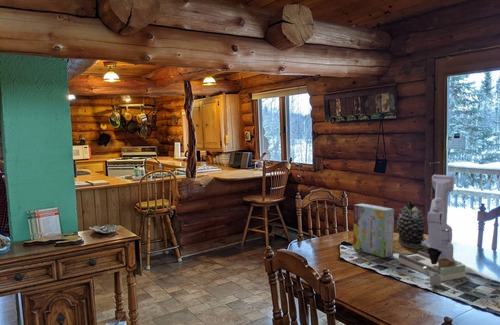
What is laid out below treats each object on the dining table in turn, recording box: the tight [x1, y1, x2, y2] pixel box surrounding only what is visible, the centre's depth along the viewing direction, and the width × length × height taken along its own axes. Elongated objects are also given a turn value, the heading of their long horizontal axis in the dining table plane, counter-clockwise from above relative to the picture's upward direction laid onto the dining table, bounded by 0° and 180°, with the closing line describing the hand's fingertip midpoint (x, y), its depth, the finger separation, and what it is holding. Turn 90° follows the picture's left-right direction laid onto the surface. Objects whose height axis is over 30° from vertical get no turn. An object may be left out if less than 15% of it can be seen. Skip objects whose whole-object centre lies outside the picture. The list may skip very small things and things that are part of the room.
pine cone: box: [396, 200, 427, 249], centre depth 232 cm, size 21×15×25 cm
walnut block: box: [438, 258, 457, 270], centre depth 184 cm, size 5×5×5 cm
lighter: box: [423, 266, 442, 287], centre depth 174 cm, size 7×2×8 cm, turn 78°
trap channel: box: [397, 250, 466, 282], centre depth 193 cm, size 14×28×6 cm, turn 20°
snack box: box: [352, 203, 395, 259], centre depth 219 cm, size 22×9×26 cm, turn 34°
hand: (434, 263), depth 191 cm, fingers closed
